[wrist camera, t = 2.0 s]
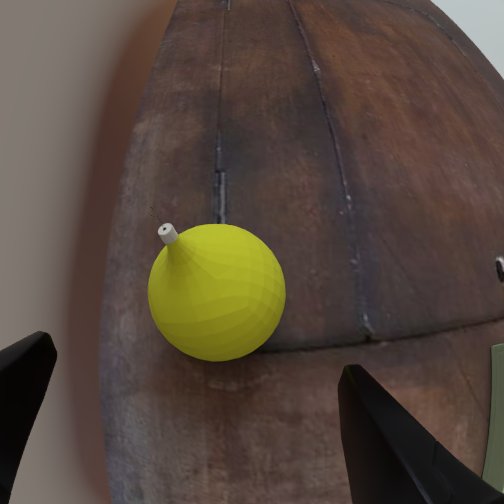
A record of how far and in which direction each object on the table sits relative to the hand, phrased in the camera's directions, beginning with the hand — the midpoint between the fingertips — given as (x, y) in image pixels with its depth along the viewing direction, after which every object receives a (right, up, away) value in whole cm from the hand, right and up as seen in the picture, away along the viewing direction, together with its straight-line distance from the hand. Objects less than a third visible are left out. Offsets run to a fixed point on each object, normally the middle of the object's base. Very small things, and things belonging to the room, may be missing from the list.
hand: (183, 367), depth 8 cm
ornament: (0, 0, +11) cm, 11 cm away
